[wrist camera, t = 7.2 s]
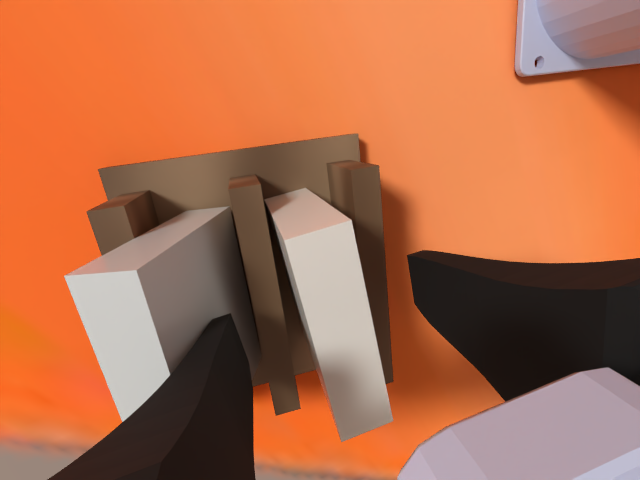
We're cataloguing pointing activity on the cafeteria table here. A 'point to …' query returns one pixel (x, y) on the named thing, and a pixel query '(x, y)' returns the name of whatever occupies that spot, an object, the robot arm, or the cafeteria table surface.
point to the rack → (260, 231)
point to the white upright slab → (332, 308)
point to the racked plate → (162, 301)
